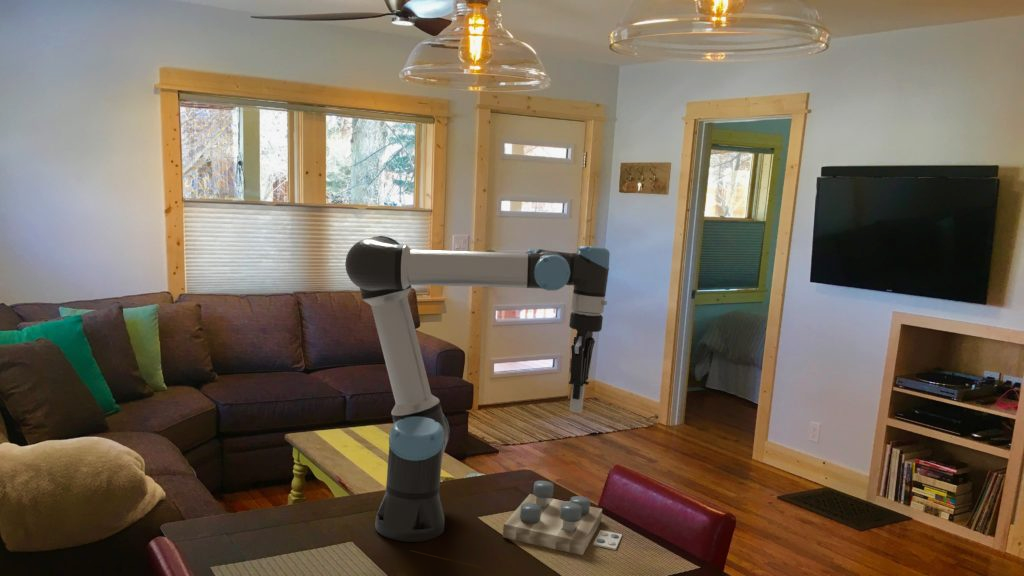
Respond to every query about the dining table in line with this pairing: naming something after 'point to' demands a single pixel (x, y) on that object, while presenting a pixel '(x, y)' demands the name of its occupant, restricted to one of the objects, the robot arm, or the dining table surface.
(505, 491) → the dining table surface
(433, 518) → the robot arm
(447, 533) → the dining table surface
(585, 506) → the button
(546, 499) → the button
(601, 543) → the tile
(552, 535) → the board
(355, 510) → the dining table surface
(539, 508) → the button
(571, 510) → the button
